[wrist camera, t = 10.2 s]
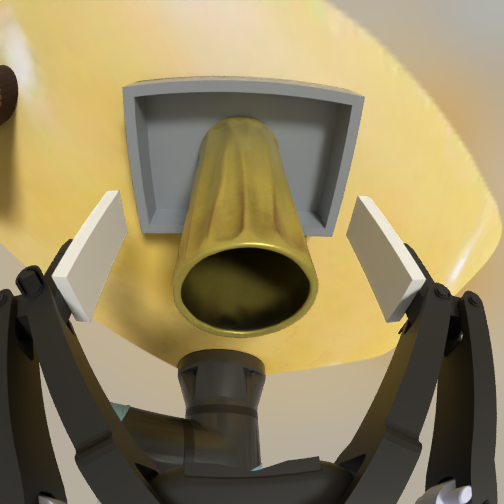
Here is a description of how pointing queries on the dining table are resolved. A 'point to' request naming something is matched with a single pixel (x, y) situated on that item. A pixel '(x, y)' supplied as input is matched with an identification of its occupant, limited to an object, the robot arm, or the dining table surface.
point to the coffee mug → (7, 93)
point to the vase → (242, 238)
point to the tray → (239, 105)
